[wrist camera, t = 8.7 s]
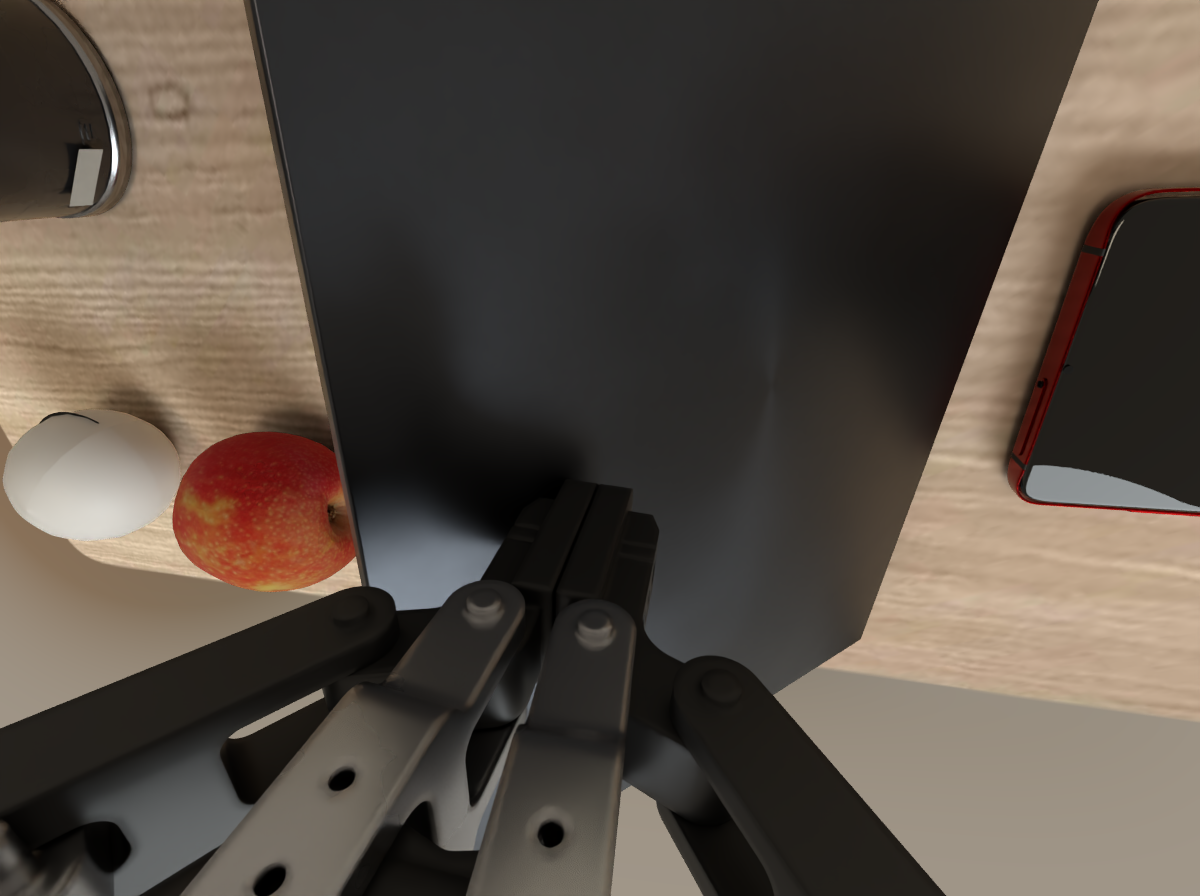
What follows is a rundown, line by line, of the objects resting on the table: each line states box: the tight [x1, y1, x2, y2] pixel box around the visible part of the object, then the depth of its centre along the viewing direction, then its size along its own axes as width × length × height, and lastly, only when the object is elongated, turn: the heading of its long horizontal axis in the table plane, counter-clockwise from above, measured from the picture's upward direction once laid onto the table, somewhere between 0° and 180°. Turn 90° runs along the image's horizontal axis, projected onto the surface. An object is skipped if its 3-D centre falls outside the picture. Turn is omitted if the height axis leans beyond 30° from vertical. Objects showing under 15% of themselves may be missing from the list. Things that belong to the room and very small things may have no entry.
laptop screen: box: [244, 0, 1099, 850], centre depth 15 cm, size 21×30×1 cm
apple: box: [173, 432, 356, 592], centre depth 29 cm, size 8×8×8 cm
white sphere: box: [3, 409, 181, 541], centre depth 31 cm, size 10×7×7 cm
